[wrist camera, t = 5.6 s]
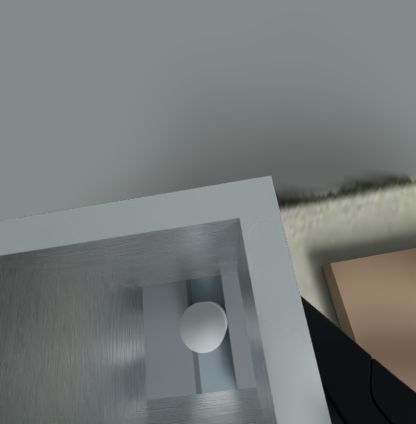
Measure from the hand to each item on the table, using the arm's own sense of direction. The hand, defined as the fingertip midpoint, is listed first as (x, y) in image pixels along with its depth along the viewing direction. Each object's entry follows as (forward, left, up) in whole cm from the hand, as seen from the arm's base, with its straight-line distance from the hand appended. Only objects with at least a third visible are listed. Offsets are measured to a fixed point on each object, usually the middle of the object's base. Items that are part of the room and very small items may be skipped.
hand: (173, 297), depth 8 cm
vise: (-3, -2, -13) cm, 13 cm away
